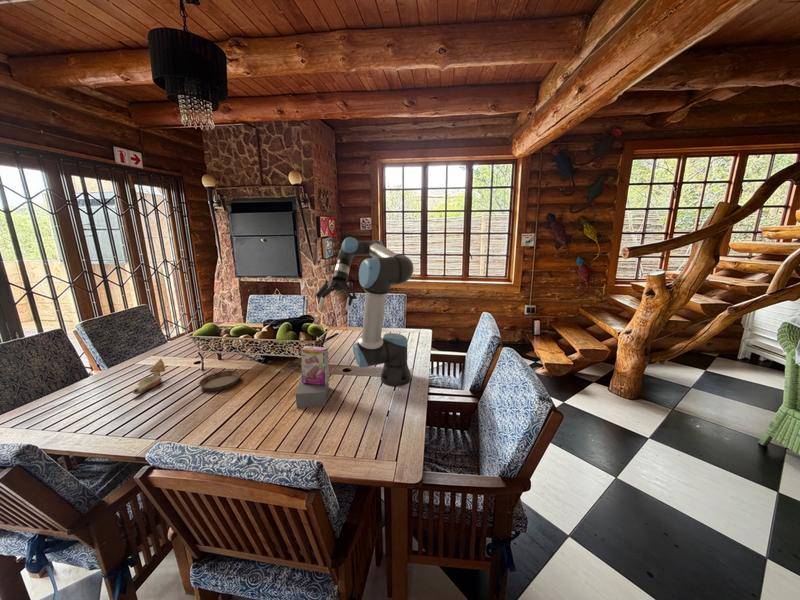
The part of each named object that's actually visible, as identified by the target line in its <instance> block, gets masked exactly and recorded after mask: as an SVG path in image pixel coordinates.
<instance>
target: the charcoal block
mask: <svg viewBox="0 0 800 600" xmlns="http://www.w3.org/2000/svg"><path fill="white" fill-rule="evenodd" d="M328 393H329V382H328V383H327V384H326V385H325V386H323V385H314V384H305V383H302V376H301V377H300V380H299V383H298V386H297V389H296V391H295V402H296V409H303V408H315V407H317V408H319V407H327V406H326V405H327V400H328V399H327V398H328V396H329V395H328Z"/></svg>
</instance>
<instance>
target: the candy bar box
mask: <svg viewBox="0 0 800 600" xmlns="http://www.w3.org/2000/svg"><path fill="white" fill-rule="evenodd" d="M299 352H300V364H301V365H300V367H301V377H302V383H305V384H314V385H323V386H325V385H326V384H327V383H328V384H329V382H330V368H329V367H330V361H329V348H328V347H325V346H324V347H321V346H311V345H304V346H302V348H300V351H299Z"/></svg>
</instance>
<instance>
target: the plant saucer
mask: <svg viewBox="0 0 800 600" xmlns="http://www.w3.org/2000/svg"><path fill="white" fill-rule="evenodd" d="M240 377H241V373H240V372H239V371H236V370H223V371H218V372H214V373H211V374H208V375H206V376H205V377H203V378H202V379H201V380H199V382H198V385H199V386H200V387H201V388H202V389H203V390H206V391H209V392H210V391H211V392H213V391H214V392H215V390H216V391H220V390H225V389H228V388H229V387H232V386H233V385H235V384H236V383H237V382H238V380H239V379H240Z"/></svg>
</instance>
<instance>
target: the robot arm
mask: <svg viewBox="0 0 800 600" xmlns="http://www.w3.org/2000/svg"><path fill="white" fill-rule="evenodd" d="M358 256H359V257H362V256H364V257H365V256H370V258H369V257H368V258H365V259H364V260H362V262H361V264H360V265H359V269H358V281H359V284H360V286H361V287H362V289H363V290H364V292H365V300H364V301H365V302H364V310H363V311H364V312H363V320H362V321H363V322H362V323H363V324H362V330H361V332H362V333H361V335H360V336H359V337H358V341H357V342H355V343H354V344H352V353H353V356H354V360H355V363H356V364H357V365H358V367H359V368H370V367H373V366H378V365H382V364H383V367H382V371H381V373H380V381H381V383H382V384H385V385H387V386H390V387H399V386H400V387H401V386H406V385H407V384H409V383H410V382H411V379H412V376H411V375H412V374H411V371H410V368H409V365H408V339H407V337H406V336H405V335H403V334H401V333H397V332H395V333H394V332H393V333H392V332H388V333H387V332H386V333H385V334H383V336H382V329H383V323H384V315H385V307H386V306H385V305H386V301H387V295H388V294H390V292H391V291H392V290H391V289H392V286H394V285H401V284H404V283H406V282H407V281H409V280H410V278H411V277H412V276H413V274H414V264H413V262H412V260H411V259H410V258H409V257H408V256H407V255H404V254H401V253H396V252H395V251H392V250H390V249H389V248H387V247H385V246H384V243H383V241H382V240H376V239H375V240H358V239H356V238H355V237H352V236H348V237H346V238H344V240H343V241H342V243H341V247H340V250H339V252H338V254H337V260H336V264H335V268H334V272H333V276H332V278H331V279H332V280H331V281H329V280H326V281H325V283H324V284H323V285H322V287H320V289H319V290H318V291H317V292H316V293H315V296H316V298H317V299H318V300H317V303H318V307H317V310H318V311H319V312H322V308H323V305H324V301H325V299H324V298H326V297H327V296H328V295H329V294H330V293H332V292H334V291H335V292H336V291H339V292H340V291H342V290H343V291H344V292H345V294H346V296H347V299H346V305H345V307H344V308H345V312H347V313H348V312H349V310H350V309H349V308H350V306H352V303H353V300H357V296H356V293H355V291H354V287H353V282H352V280H350V281H348V279H349V275H350V274H349V273H350V270H351V265H352V261H353V259H354V257H358ZM347 286H348V287H349V288H350V291H351V293H350V292H349V290H347V289H348V288H347Z"/></svg>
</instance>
